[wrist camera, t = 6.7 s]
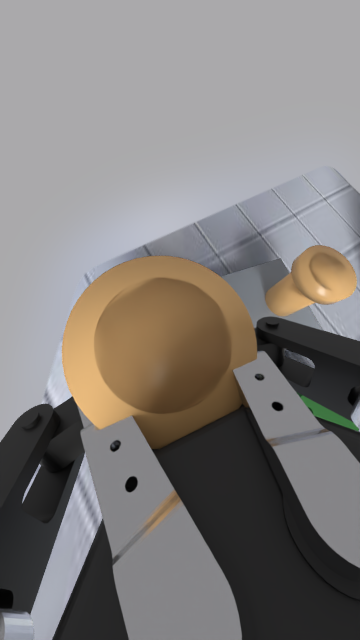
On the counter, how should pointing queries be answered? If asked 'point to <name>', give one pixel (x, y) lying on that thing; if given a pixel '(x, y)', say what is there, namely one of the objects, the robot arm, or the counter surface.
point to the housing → (294, 285)
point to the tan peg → (157, 347)
